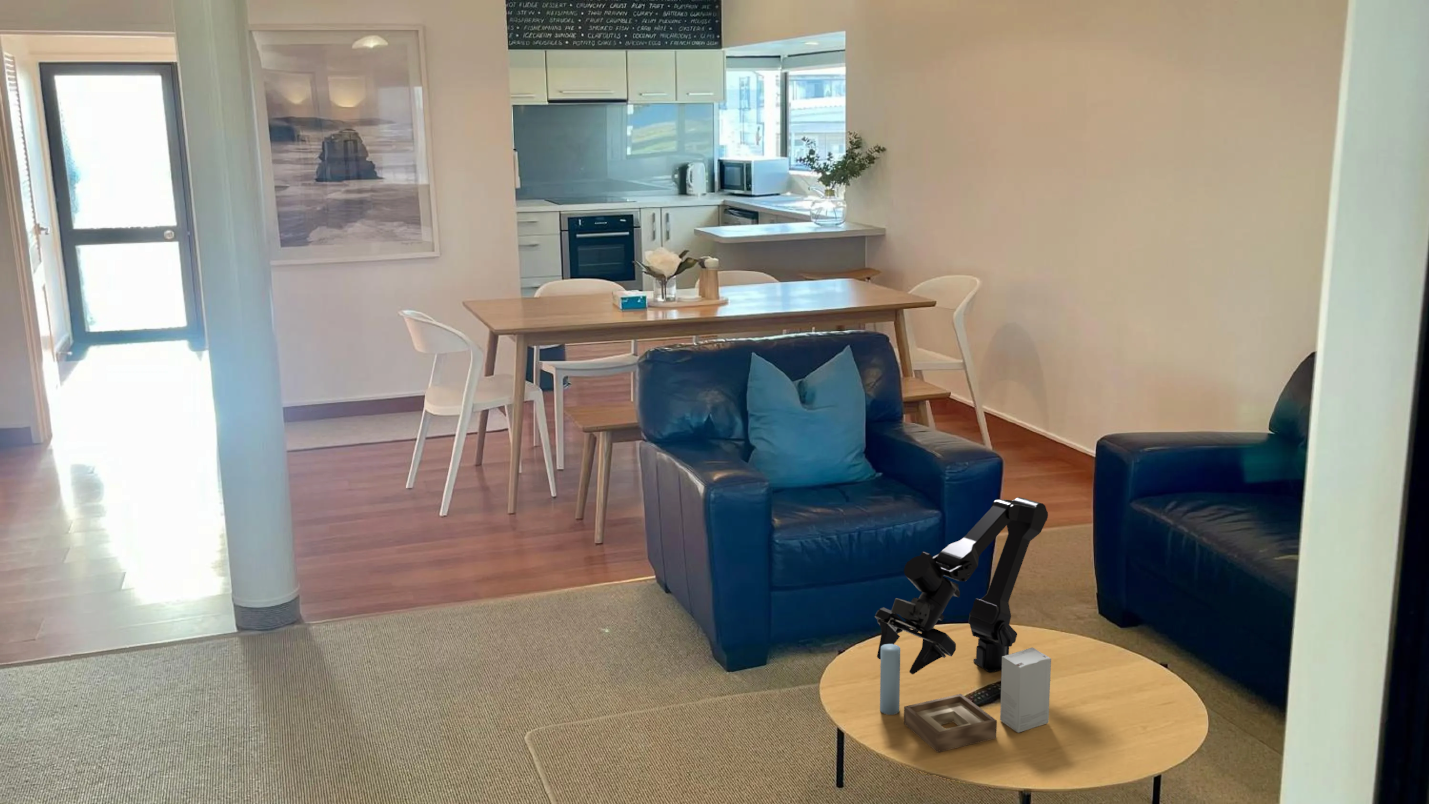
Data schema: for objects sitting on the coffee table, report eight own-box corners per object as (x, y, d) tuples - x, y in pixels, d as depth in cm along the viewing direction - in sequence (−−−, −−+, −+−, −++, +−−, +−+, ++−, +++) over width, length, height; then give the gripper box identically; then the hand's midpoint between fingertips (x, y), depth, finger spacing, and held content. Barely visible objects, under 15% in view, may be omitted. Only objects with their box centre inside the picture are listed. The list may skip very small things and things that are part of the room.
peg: (893, 704, 248) (894, 642, 245) (902, 712, 245) (903, 649, 242) (876, 707, 247) (877, 645, 244) (886, 716, 243) (886, 653, 240)
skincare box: (1030, 712, 244) (1033, 645, 241) (1050, 724, 239) (1053, 656, 235) (997, 721, 240) (1000, 654, 237) (1017, 734, 235) (1020, 665, 232)
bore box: (960, 710, 245) (960, 693, 244) (996, 738, 234) (996, 720, 233) (903, 723, 240) (904, 706, 239) (937, 752, 229) (938, 734, 228)
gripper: (881, 571, 251) (843, 633, 247) (948, 597, 237) (909, 662, 233) (906, 597, 258) (869, 657, 254) (972, 623, 243) (935, 688, 239)
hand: (894, 665), depth 245 cm, fingers open, 9 cm apart
